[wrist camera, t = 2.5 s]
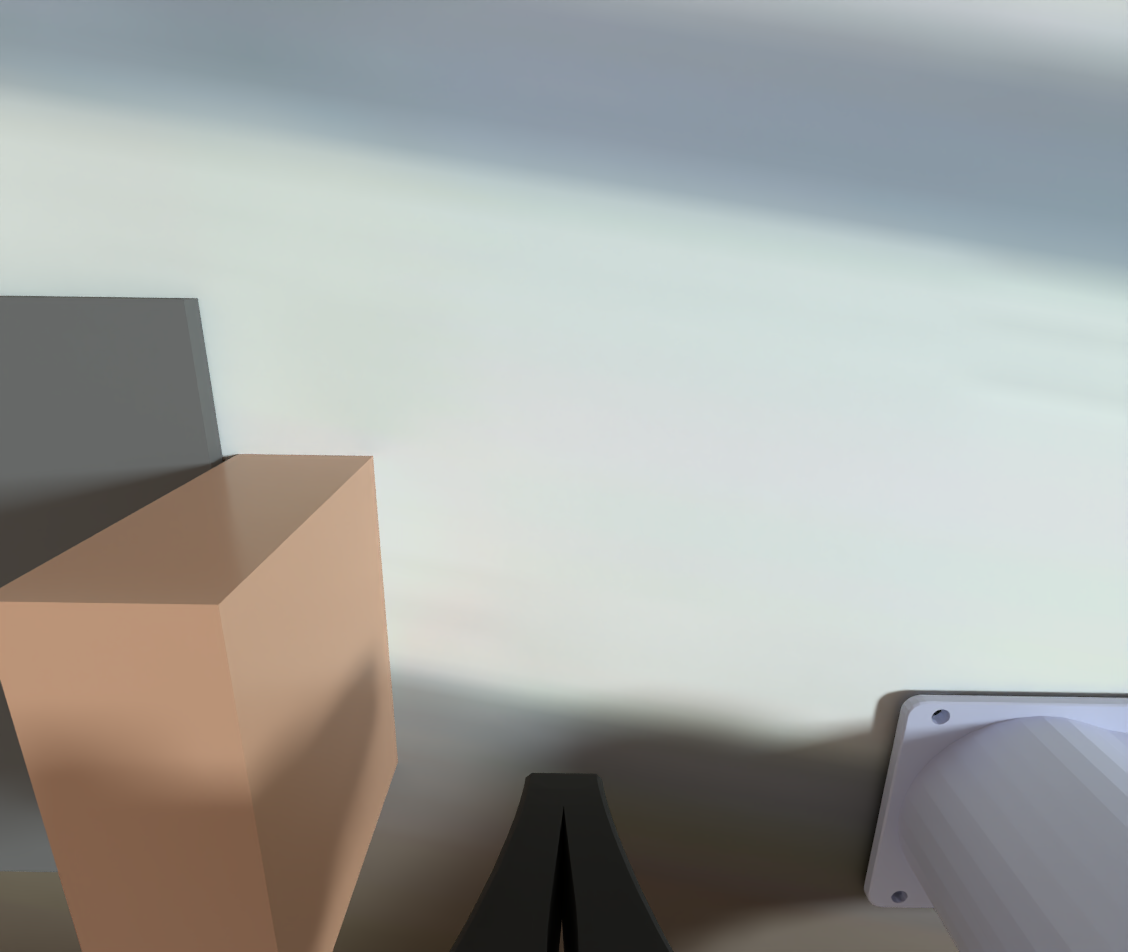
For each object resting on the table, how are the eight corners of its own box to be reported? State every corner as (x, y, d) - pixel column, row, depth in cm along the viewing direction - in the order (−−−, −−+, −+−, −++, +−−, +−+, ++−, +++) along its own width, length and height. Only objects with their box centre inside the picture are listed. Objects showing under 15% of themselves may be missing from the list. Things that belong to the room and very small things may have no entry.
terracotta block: (373, 455, 17) (218, 605, 10) (398, 760, 20) (295, 1057, 13) (238, 453, 17) (-24, 601, 10) (284, 758, 20) (113, 1054, 13)
